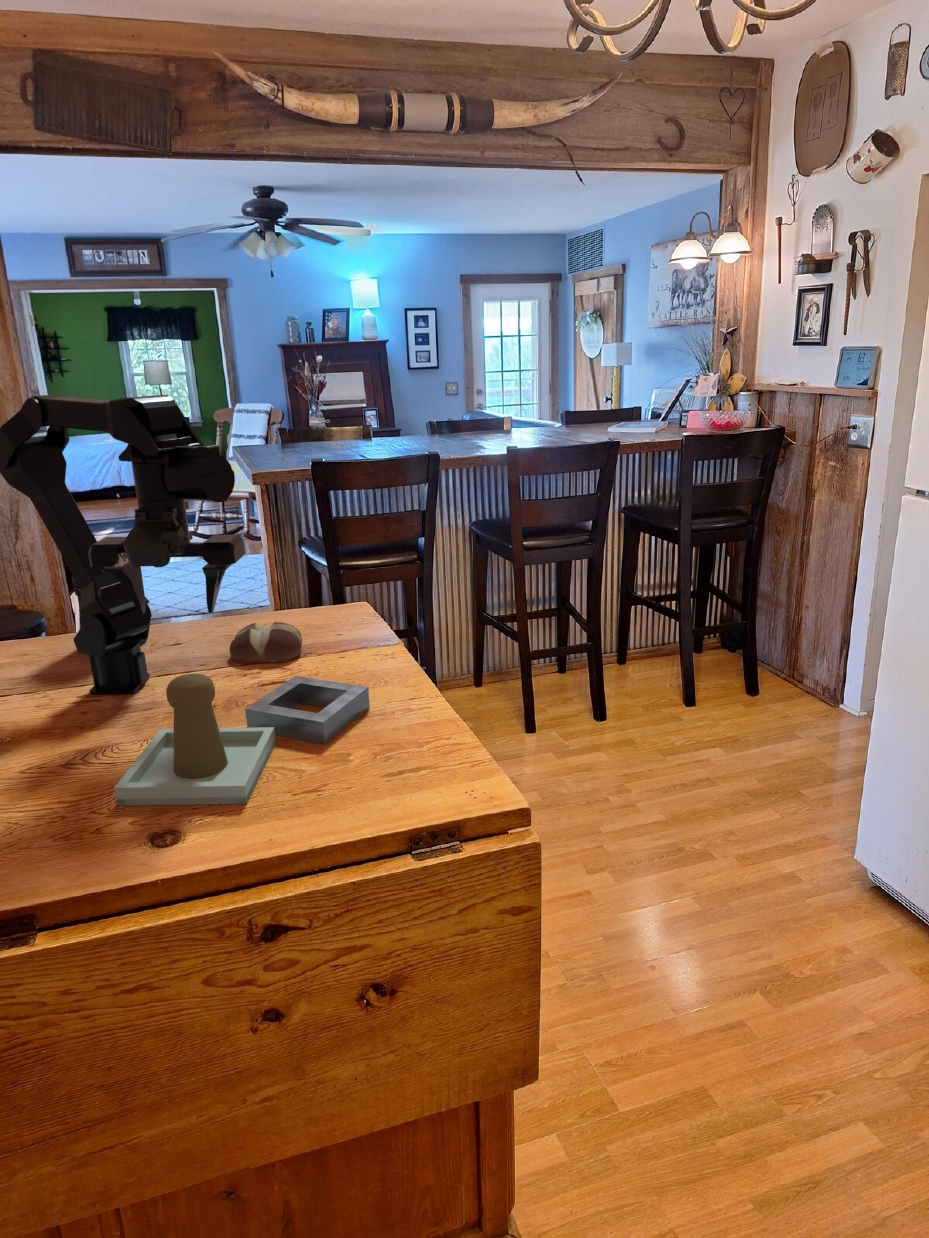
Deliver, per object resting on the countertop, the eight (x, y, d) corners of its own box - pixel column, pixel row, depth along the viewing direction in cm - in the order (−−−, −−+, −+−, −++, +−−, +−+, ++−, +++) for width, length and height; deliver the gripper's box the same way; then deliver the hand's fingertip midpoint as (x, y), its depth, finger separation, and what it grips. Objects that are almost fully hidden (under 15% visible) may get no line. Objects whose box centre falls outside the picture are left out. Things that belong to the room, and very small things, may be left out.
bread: (295, 666, 125) (292, 635, 124) (222, 666, 126) (219, 635, 124) (311, 641, 136) (309, 613, 134) (244, 641, 137) (241, 613, 135)
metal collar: (247, 729, 104) (245, 708, 103) (297, 695, 114) (295, 675, 113) (324, 744, 100) (323, 722, 99) (369, 707, 110) (368, 686, 109)
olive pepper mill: (197, 749, 97) (186, 664, 94) (238, 758, 95) (228, 671, 92) (161, 773, 92) (148, 683, 89) (204, 782, 90) (192, 691, 86)
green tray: (117, 805, 87) (114, 787, 87) (163, 745, 101) (160, 728, 100) (246, 803, 87) (244, 785, 86) (275, 743, 100) (274, 727, 100)
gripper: (58, 510, 96) (80, 634, 101) (215, 507, 96) (229, 631, 101) (98, 494, 107) (117, 607, 112) (239, 491, 107) (252, 604, 112)
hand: (177, 612), depth 109 cm, fingers open, 9 cm apart
